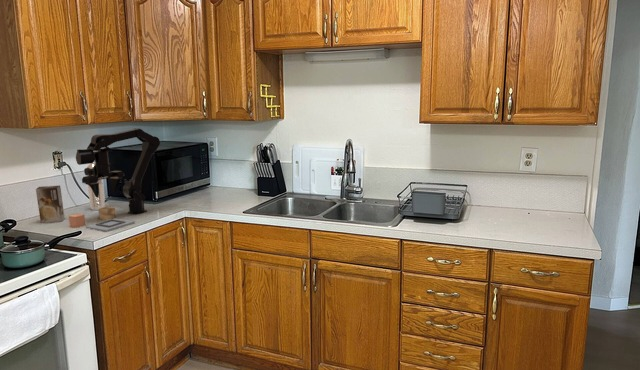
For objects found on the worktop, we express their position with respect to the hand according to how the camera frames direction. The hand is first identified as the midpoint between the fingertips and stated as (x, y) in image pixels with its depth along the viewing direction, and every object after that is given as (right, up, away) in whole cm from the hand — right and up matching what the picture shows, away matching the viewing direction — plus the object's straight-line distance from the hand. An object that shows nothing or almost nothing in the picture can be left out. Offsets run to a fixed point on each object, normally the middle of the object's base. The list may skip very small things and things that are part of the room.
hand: (105, 195), depth 222 cm
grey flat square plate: (+7, -13, -11) cm, 19 cm away
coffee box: (-24, -12, -1) cm, 27 cm away
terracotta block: (-8, -14, -10) cm, 19 cm away
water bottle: (-14, -8, +21) cm, 26 cm away
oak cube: (0, -11, +2) cm, 11 cm away
